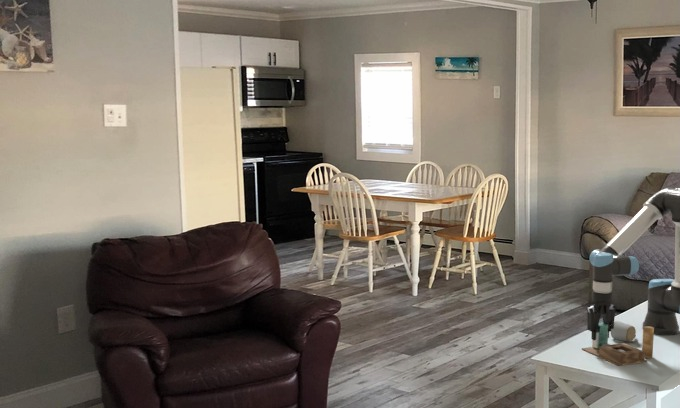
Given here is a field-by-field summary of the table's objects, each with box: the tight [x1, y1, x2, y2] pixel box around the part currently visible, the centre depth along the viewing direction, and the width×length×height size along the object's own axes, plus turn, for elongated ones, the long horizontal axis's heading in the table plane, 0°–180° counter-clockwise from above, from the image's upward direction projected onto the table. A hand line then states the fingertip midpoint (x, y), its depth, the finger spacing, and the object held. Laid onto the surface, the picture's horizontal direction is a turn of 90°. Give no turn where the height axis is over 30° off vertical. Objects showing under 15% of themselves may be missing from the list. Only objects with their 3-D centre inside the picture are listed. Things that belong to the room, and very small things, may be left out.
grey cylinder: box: [610, 320, 637, 343], centre depth 346 cm, size 11×8×8 cm
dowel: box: [641, 326, 655, 359], centre depth 322 cm, size 4×4×12 cm
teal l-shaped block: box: [594, 321, 625, 352], centre depth 326 cm, size 4×18×10 cm, turn 22°
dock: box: [581, 342, 648, 367], centre depth 325 cm, size 14×22×4 cm, turn 22°
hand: (599, 346), depth 333 cm, fingers closed on teal l-shaped block, 4 cm apart
